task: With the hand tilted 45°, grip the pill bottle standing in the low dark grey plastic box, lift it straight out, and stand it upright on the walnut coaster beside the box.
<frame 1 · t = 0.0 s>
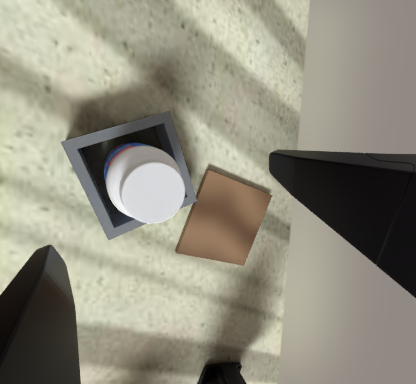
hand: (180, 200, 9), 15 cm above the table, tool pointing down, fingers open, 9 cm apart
pill bottle: (132, 169, 23), resting in holder box
holder box: (132, 170, 23), on the table
walnut coaster: (225, 220, 29), on the table
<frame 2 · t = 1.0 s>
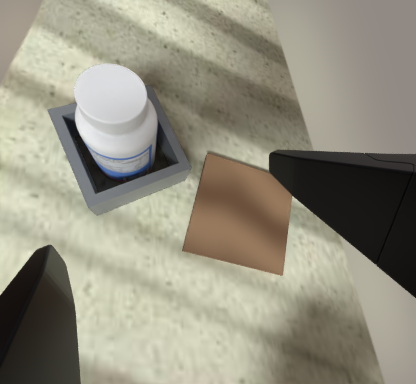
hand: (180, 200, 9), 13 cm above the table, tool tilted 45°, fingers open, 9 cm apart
pill bottle: (126, 157, 23), resting in holder box
holder box: (126, 156, 23), on the table
walnut coaster: (241, 213, 24), on the table
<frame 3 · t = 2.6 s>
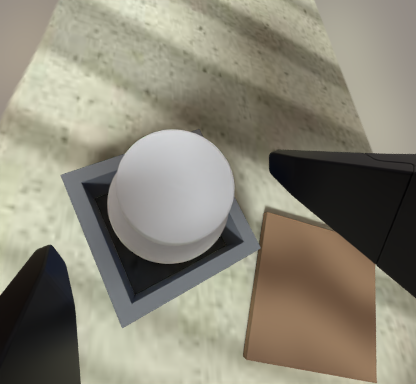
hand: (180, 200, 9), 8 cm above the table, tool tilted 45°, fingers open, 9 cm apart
pill bottle: (162, 223, 17), resting in holder box
holder box: (162, 222, 17), on the table
walnut coaster: (314, 292, 18), on the table
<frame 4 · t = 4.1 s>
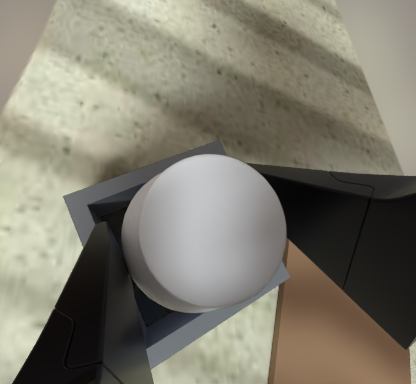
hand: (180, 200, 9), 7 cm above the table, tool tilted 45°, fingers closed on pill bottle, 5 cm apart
pill bottle: (176, 244, 15), resting in holder box, touching gripper
holder box: (176, 243, 15), on the table
walnut coaster: (341, 319, 17), on the table
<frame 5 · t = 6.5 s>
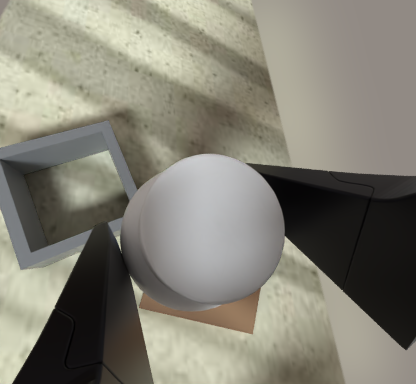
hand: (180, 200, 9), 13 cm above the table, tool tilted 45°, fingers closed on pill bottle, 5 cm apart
pill bottle: (172, 244, 15), point 6 cm above the table, touching gripper
holder box: (81, 197, 20), on the table
walnut coaster: (211, 260, 22), on the table
when the fingers open (8 cm above the table, at t = 8.8 s): pill bottle stays where it is, resting on walnut coaster.
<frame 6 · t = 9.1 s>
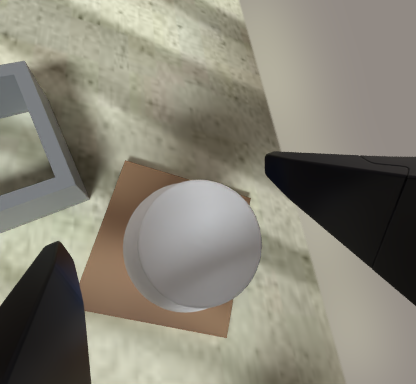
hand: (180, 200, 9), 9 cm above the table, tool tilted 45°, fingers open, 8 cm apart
pill bottle: (172, 248, 17), resting on walnut coaster
walnut coaster: (172, 245, 17), on the table
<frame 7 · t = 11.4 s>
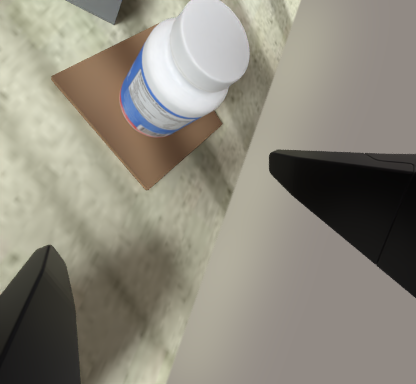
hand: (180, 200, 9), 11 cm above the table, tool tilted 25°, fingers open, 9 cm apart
pill bottle: (150, 107, 20), resting on walnut coaster
walnut coaster: (151, 107, 20), on the table
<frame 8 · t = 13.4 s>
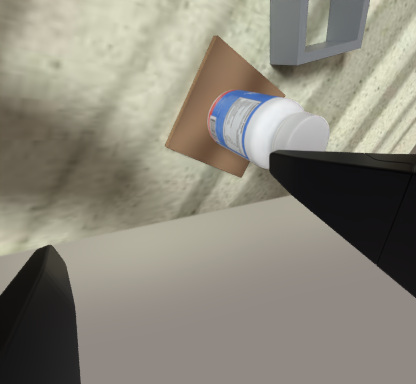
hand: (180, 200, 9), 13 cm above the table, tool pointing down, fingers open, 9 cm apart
pill bottle: (228, 117, 23), resting on walnut coaster
holder box: (305, 4, 22), on the table
walnut coaster: (228, 117, 24), on the table
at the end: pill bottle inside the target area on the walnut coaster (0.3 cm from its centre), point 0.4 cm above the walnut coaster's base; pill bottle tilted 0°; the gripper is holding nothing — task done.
